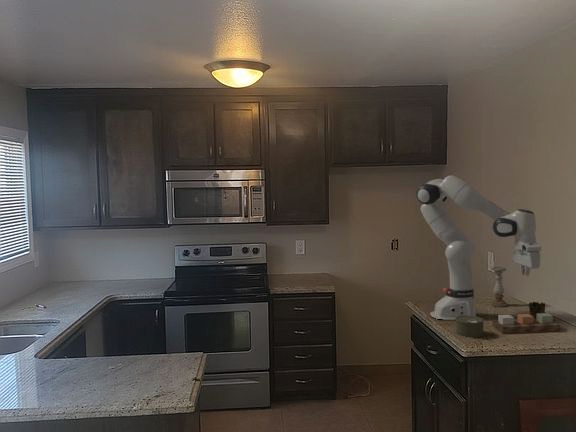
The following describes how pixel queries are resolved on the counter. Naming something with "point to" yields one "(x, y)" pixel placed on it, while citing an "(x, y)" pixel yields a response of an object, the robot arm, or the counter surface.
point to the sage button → (544, 318)
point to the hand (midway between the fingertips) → (525, 274)
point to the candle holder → (498, 288)
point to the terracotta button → (525, 318)
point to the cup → (536, 308)
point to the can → (469, 326)
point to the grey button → (505, 319)
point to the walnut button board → (526, 327)
